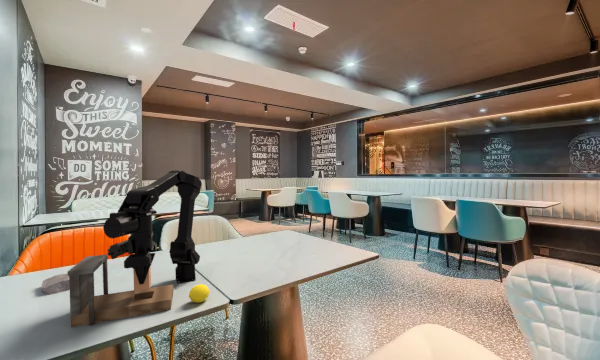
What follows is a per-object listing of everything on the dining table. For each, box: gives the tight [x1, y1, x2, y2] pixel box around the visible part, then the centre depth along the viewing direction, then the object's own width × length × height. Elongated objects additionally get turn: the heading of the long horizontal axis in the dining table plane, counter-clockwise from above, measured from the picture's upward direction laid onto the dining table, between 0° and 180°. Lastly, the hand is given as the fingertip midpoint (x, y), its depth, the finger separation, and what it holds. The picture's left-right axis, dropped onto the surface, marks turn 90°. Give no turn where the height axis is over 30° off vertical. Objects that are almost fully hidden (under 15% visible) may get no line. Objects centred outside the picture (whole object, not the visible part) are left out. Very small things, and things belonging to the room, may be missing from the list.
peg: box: [132, 265, 152, 292], centre depth 84 cm, size 4×4×9 cm
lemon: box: [188, 283, 210, 304], centre depth 86 cm, size 7×5×5 cm
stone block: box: [40, 273, 70, 295], centre depth 99 cm, size 12×5×10 cm
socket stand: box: [66, 253, 174, 328], centre depth 82 cm, size 24×14×15 cm, turn 112°
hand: (142, 281), depth 84 cm, fingers closed on peg, 4 cm apart
